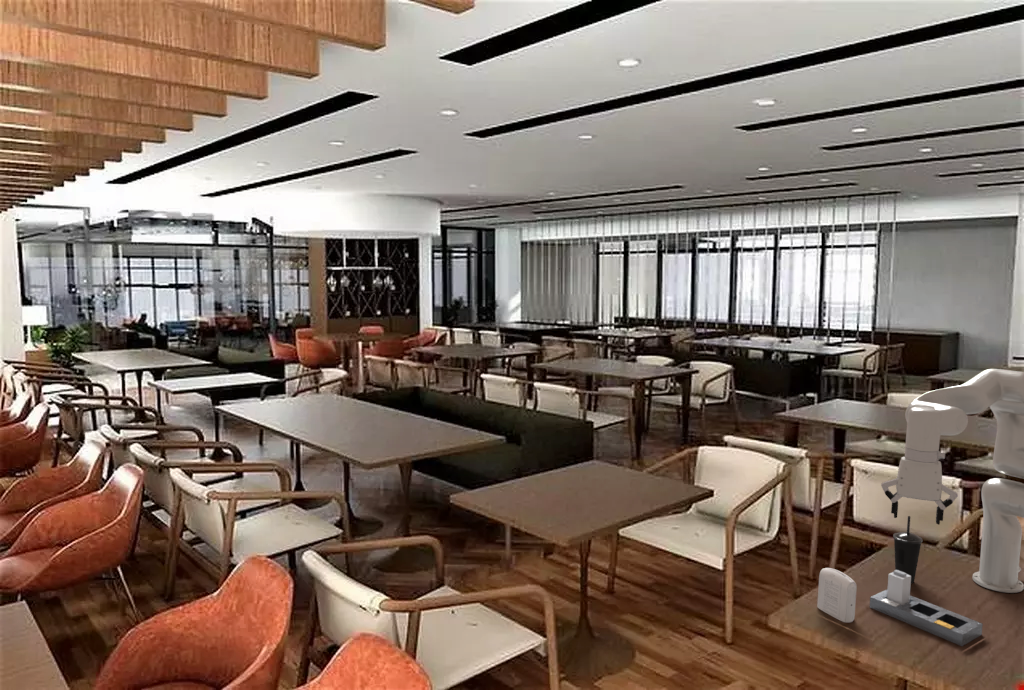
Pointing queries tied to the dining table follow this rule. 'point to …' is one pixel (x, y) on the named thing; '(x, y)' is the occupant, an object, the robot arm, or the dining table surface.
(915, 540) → the drinking cup
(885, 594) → the socket panel
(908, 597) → the plug
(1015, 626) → the dining table surface
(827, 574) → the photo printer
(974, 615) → the dining table surface
